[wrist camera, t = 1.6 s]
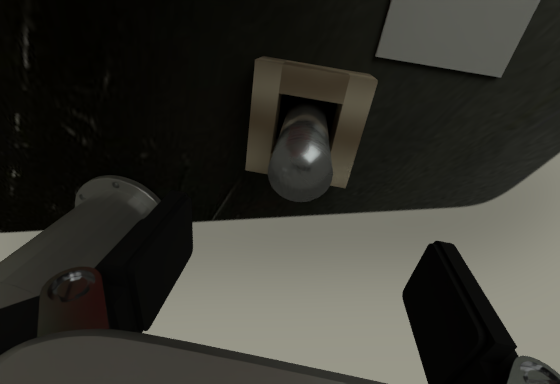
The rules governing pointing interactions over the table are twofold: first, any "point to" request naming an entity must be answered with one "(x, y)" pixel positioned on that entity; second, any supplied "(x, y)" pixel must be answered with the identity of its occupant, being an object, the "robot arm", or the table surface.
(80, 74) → the table surface
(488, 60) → the grey rubber mat
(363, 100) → the maple socket block
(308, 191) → the steel round peg
